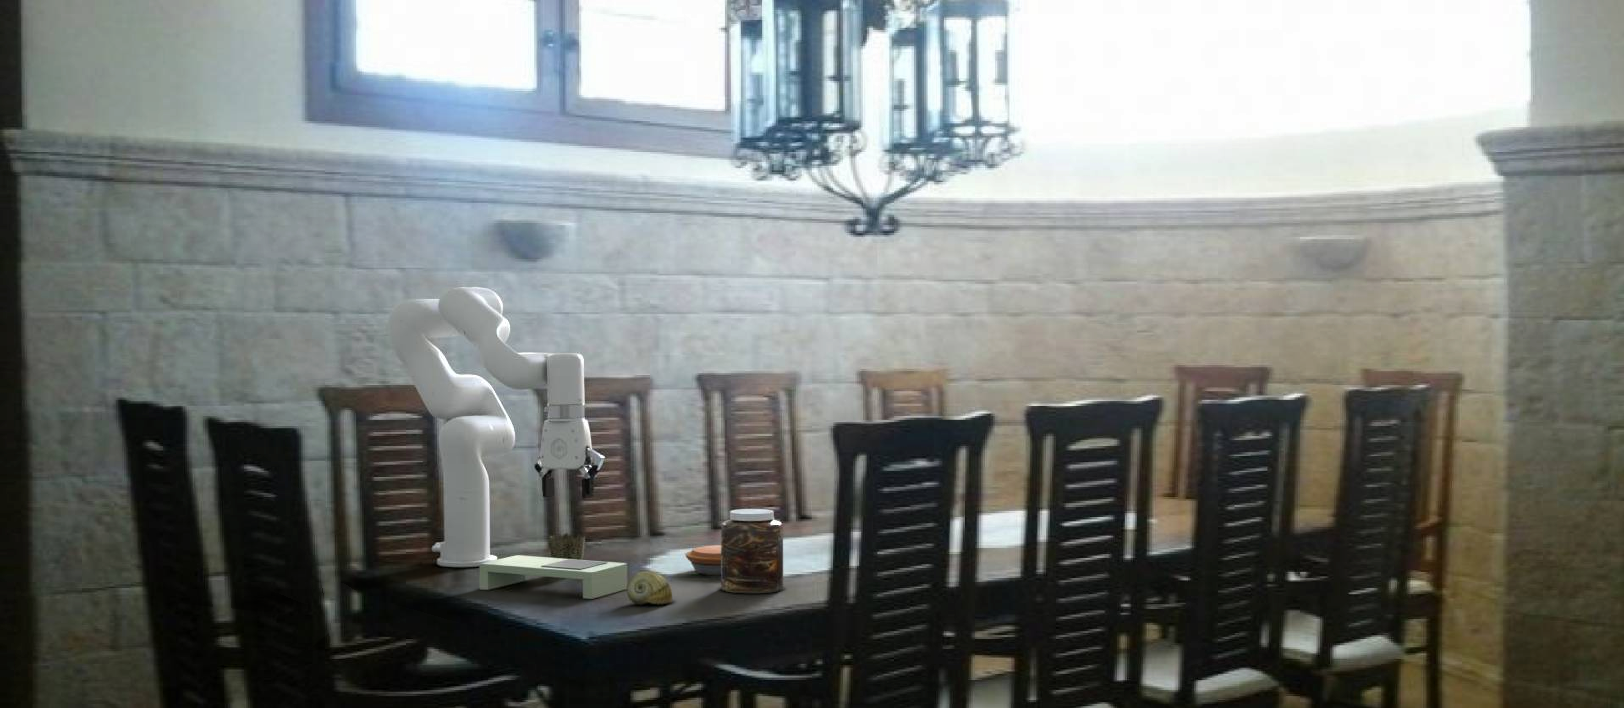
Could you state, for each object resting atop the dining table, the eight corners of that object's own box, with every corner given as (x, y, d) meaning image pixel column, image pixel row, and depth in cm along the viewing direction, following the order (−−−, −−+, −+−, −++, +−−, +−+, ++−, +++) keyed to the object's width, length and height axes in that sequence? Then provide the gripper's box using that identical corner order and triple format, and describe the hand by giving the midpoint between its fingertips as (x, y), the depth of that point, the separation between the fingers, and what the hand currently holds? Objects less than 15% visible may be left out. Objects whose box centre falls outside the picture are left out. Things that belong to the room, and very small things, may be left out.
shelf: (479, 589, 293) (479, 562, 293) (517, 580, 304) (517, 554, 304) (591, 599, 282) (591, 571, 282) (627, 589, 293) (626, 562, 293)
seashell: (652, 621, 281) (626, 587, 283) (682, 597, 282) (656, 563, 283) (643, 621, 272) (616, 586, 273) (674, 596, 272) (647, 561, 274)
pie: (774, 572, 312) (774, 548, 312) (707, 579, 304) (707, 554, 304) (737, 563, 325) (737, 539, 325) (672, 569, 317) (672, 545, 317)
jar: (771, 582, 300) (771, 506, 300) (791, 591, 289) (790, 513, 289) (714, 586, 296) (713, 509, 295) (731, 595, 285) (731, 516, 284)
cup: (592, 572, 313) (592, 534, 313) (572, 578, 306) (572, 538, 306) (562, 570, 316) (562, 532, 316) (541, 575, 309) (541, 536, 309)
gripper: (520, 414, 311) (522, 497, 311) (591, 414, 303) (593, 500, 304) (542, 412, 318) (544, 494, 318) (612, 412, 310) (613, 496, 310)
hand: (568, 497), depth 311 cm, fingers open, 9 cm apart
